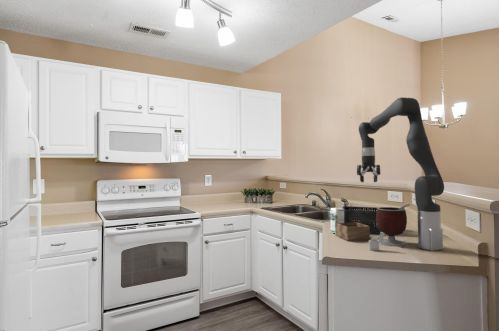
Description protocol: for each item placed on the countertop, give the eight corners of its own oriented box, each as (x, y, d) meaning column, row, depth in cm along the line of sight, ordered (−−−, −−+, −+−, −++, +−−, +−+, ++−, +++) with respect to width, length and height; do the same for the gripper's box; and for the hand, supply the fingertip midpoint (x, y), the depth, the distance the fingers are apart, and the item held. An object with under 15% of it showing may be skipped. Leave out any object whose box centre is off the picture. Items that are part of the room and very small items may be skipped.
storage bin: (391, 229, 190) (391, 207, 190) (395, 235, 172) (395, 211, 172) (343, 226, 199) (342, 206, 200) (341, 232, 181) (341, 209, 181)
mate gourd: (372, 243, 153) (371, 203, 153) (381, 238, 163) (381, 200, 164) (406, 248, 143) (405, 205, 143) (414, 243, 153) (413, 202, 154)
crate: (369, 239, 161) (369, 226, 161) (347, 241, 159) (347, 227, 159) (356, 234, 174) (356, 222, 174) (335, 236, 171) (335, 223, 171)
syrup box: (330, 232, 180) (329, 207, 180) (338, 231, 182) (338, 207, 183) (336, 234, 175) (335, 208, 175) (344, 233, 177) (344, 208, 177)
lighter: (370, 250, 140) (369, 232, 140) (368, 249, 142) (368, 232, 142) (385, 250, 141) (385, 232, 141) (383, 249, 142) (383, 231, 142)
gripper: (360, 155, 182) (361, 182, 182) (382, 154, 185) (383, 182, 185) (354, 155, 190) (354, 182, 189) (375, 155, 192) (375, 181, 192)
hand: (368, 182), depth 187 cm, fingers open, 8 cm apart
